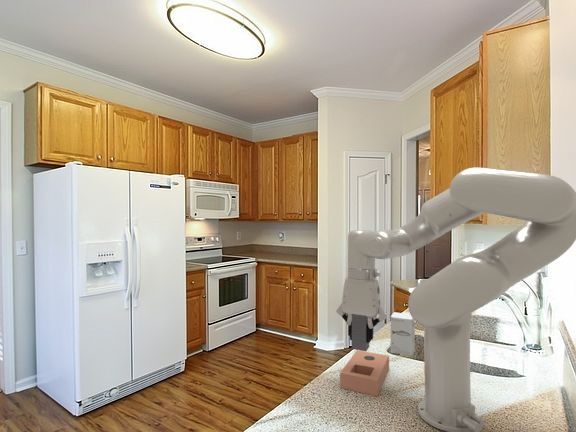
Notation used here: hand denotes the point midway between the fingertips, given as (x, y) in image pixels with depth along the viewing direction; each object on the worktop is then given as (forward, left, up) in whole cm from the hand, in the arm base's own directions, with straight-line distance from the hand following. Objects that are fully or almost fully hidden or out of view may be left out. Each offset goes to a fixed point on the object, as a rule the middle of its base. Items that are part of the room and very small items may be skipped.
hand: (360, 339), depth 91 cm
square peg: (0, 0, -2) cm, 2 cm away
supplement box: (+16, -26, -12) cm, 33 cm away
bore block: (+3, -3, -12) cm, 13 cm away
